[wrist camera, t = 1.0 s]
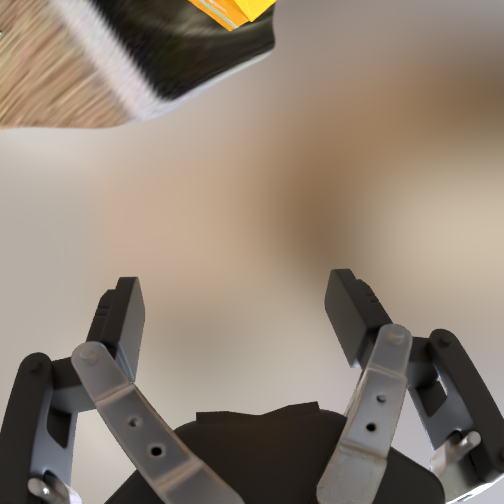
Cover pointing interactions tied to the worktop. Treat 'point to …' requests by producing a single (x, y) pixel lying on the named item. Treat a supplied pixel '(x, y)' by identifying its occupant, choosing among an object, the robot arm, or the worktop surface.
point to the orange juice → (233, 10)
